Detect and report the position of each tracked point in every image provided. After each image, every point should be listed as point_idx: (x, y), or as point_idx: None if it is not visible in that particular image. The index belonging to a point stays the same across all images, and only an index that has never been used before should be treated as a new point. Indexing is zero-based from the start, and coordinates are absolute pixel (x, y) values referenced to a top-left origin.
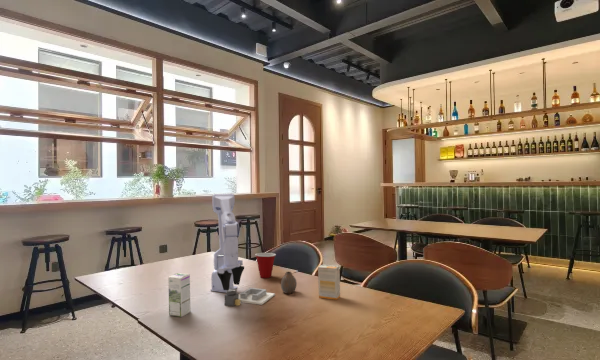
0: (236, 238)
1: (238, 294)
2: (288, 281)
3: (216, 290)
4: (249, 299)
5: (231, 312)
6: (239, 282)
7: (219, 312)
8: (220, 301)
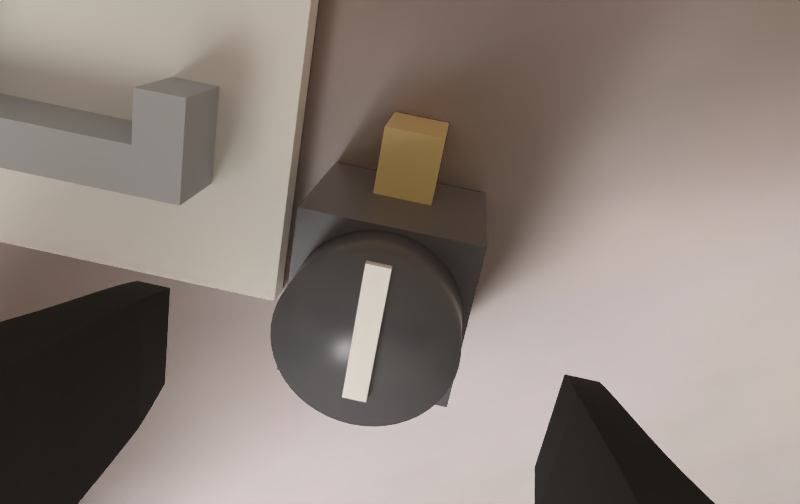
0: None
1: (307, 199)
2: None
3: None
4: (233, 7)
5: (739, 131)
6: (116, 288)
7: (733, 301)
8: (326, 420)
